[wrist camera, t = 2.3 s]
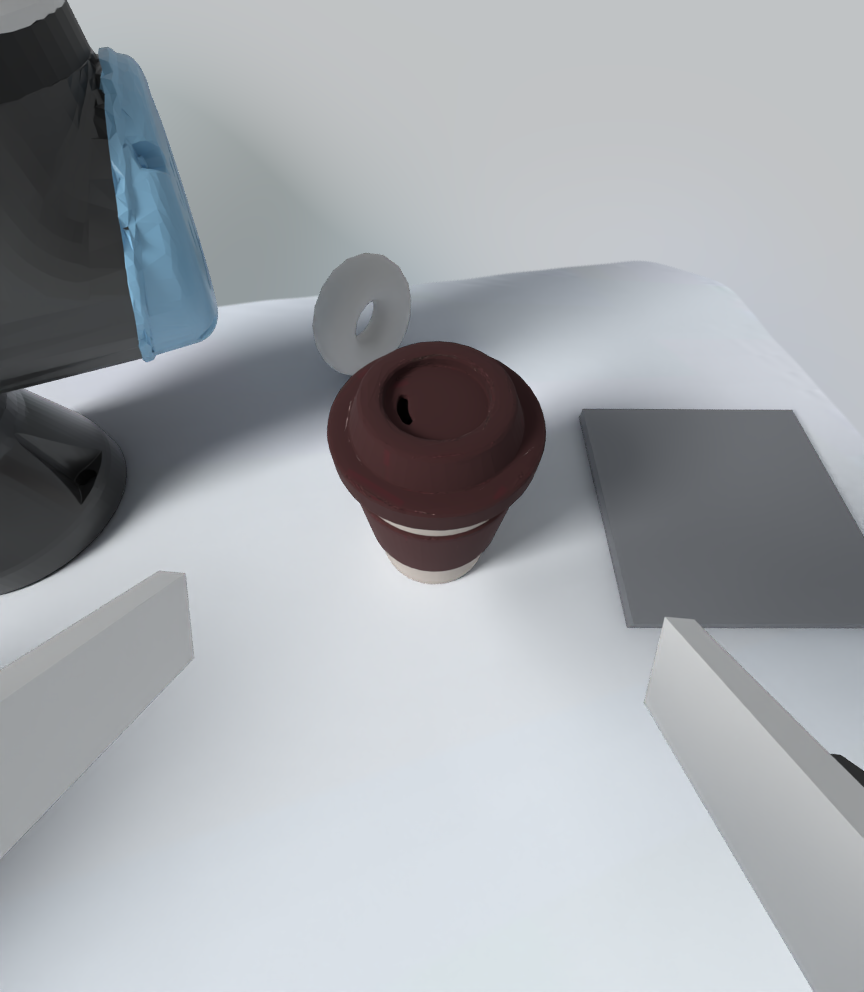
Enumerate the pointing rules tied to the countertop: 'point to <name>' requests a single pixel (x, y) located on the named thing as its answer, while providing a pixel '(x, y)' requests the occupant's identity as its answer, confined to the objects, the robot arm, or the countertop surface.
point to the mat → (723, 520)
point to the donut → (344, 305)
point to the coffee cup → (435, 452)
